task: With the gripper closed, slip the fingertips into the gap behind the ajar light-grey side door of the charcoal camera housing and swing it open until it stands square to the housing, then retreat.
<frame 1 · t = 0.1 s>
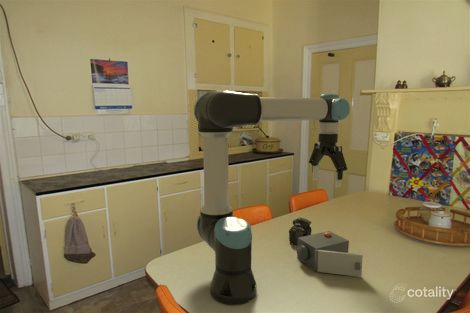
hand: (326, 183, 134), 28 cm above the table, fingers open, 13 cm apart
door: (337, 263, 115), point 4 cm above the table, hinge at 40.0°
case: (322, 259, 127), on the table
camera: (300, 240, 146), on the table
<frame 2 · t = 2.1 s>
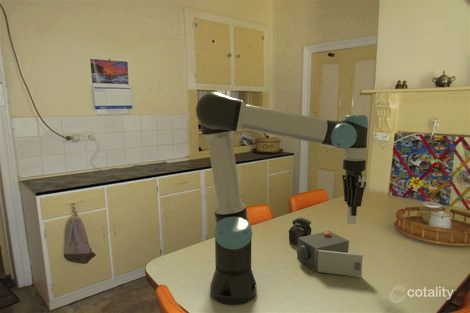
hand: (351, 223, 117), 18 cm above the table, fingers closed
nothing on the table moved.
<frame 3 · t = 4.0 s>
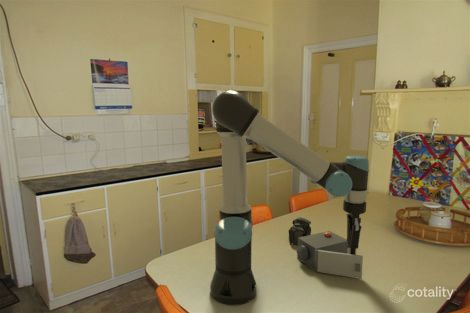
hand: (351, 263, 116), 4 cm above the table, fingers closed
door: (337, 264, 114), point 4 cm above the table, hinge at 44.0°, touching gripper
everything else where it was.
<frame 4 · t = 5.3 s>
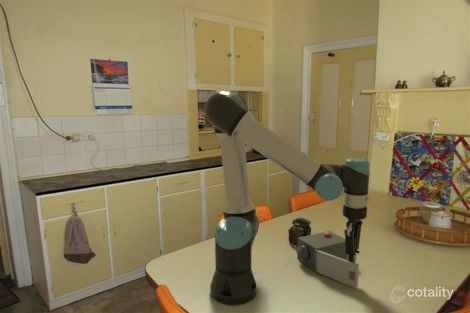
hand: (351, 271, 110), 4 cm above the table, fingers closed
door: (334, 268, 111), point 4 cm above the table, hinge at 71.5°, touching gripper
everything else where it was.
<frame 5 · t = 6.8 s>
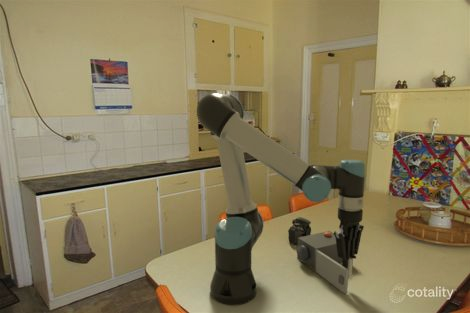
hand: (346, 276, 107), 4 cm above the table, fingers closed
door: (329, 270, 110), point 4 cm above the table, hinge at 92.5°
everything else where it was.
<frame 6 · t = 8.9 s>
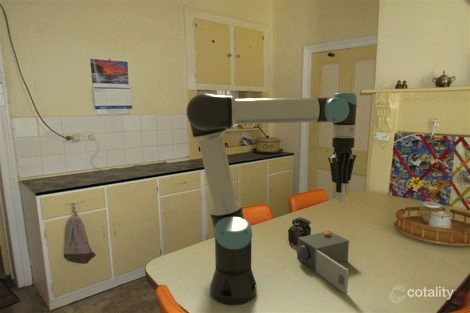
hand: (340, 200, 119), 26 cm above the table, fingers closed
nothing on the table moved.
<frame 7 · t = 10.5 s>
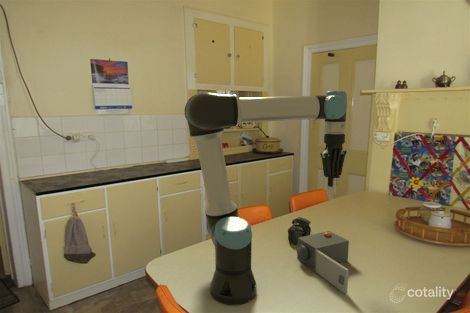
hand: (331, 194, 124), 26 cm above the table, fingers closed
nothing on the table moved.
at the end: door at +92° (first picture: +40°) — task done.
